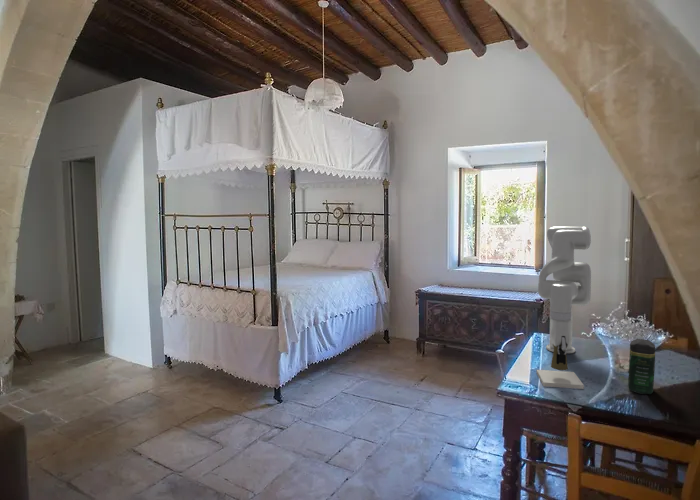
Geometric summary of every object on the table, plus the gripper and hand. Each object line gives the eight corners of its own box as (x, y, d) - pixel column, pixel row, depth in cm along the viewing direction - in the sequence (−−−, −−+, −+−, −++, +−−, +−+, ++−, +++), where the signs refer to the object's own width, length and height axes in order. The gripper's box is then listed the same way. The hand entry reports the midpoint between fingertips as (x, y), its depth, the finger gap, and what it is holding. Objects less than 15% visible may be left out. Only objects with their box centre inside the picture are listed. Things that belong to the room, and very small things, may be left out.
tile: (536, 373, 181) (536, 369, 181) (573, 375, 178) (573, 371, 178) (543, 386, 167) (543, 382, 167) (583, 389, 164) (583, 385, 164)
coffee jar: (653, 397, 156) (656, 345, 155) (627, 392, 161) (629, 342, 159) (653, 388, 164) (655, 339, 163) (628, 383, 169) (630, 336, 167)
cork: (569, 370, 168) (570, 342, 168) (553, 369, 170) (553, 341, 169) (565, 365, 174) (566, 338, 174) (549, 364, 176) (549, 337, 175)
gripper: (545, 310, 179) (544, 355, 181) (555, 320, 163) (554, 368, 165) (565, 311, 178) (564, 356, 179) (577, 321, 162) (575, 370, 163)
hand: (559, 361), depth 172 cm, fingers closed on cork, 3 cm apart
